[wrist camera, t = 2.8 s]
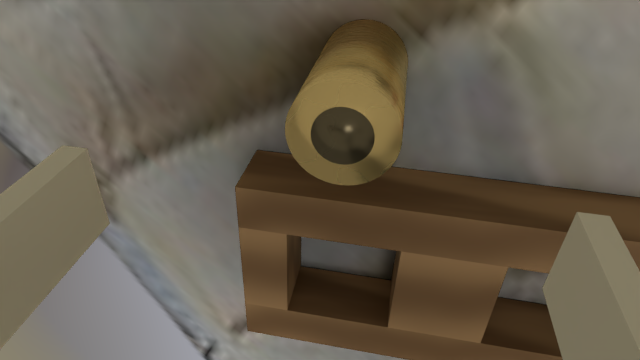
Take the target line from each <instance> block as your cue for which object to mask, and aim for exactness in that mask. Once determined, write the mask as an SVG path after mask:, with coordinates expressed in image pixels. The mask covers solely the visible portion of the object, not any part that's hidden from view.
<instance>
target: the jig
mask: <svg viewBox="0 0 640 360" xmlns="http://www.w3.org/2000/svg"><path fill="white" fill-rule="evenodd" d="M235 192H236V203H237V214H238V226H239V237H240V249H241V260H242V272H243V283H244V294H245V306H246V317H247V329H248V331H252V332H257V333H263V334H268V335H274V336H280V337H285V338H291V339H296V340H302V341H308V342H313V343H319V344H324V345H330V346H335V347H341V348H347V349H352V350H358V351H363V352H369V353H375V354H380V355H386V356H391V357H397V358H403V359H408V360H563V359H562V356H561V352H560V349H559V345H558V342H557V338H556V335H555V331H554V328H553V324H552V321H551V317H550V314H549V310H548V307H547V305H544V304H537V303H531V302H525V301H518V300H512V299H505V298H499V297H498V294H499V292H500V289H501V286H502V283H503V281H504V278H505V275H506V273H507V270H508V267H509V268H516V269H523V270H530V271H536V272H543V273H549V272H550V270H551V268H552V266H553V264H554V261H555V259H556V257H557V255H558V253H559V250H560V248H561V246H562V244H563V241H564V239H565V237H566V235H567V233H568V230H569V228H570V226H571V224H572V222H573V219H574V217H575V215H576V213H577V212H582V213H590V214H598V215H605V216H610V217H611V219H612V221H613V223H614V224H615V226H616V228H617V230H618V232H619V234H620V235H621V237H622V239H623V241H624V243H625V245H626V247H627V248H628V250H629V252H630V254H631V256H632V258H633V260H634V261H635V263H636V265H637V267H638V269H639V271H640V198H638V197H630V196H622V195H614V194H606V193H598V192H590V191H582V190H574V189H566V188H558V187H550V186H542V185H534V184H526V183H518V182H510V181H502V180H494V179H486V178H478V177H470V176H462V175H454V174H446V173H438V172H430V171H422V170H414V169H406V168H398V167H390V168H389V169H388V170H387V171H386V172H385V173H384V174H383V175H381V176H380V177H378V178H376V179H374V180H372V181H369V182H367V183H363V184H358V185H337V184H332V183H328V182H325V181H323V180H320V179H318V178H316V177H315V176H313V175H311V174H310V173H308V172H307V171H306V170H305V169H304V168H302V167H301V166H300V165H299V163H298V162H297V161H296V160H295V158H294V157H293V155H292V154H285V153H277V152H269V151H261V150H257V151H256V153H255V154H254V156H253V158H252V159H251V161H250V163H249V164H248V166H247V168H246V170H245V171H244V173H243V175H242V176H241V178H240V180H239V181H238V183H237V185H236V186H235ZM301 237H307V238H314V239H321V240H328V241H334V242H341V243H348V244H354V245H361V246H368V247H375V248H381V249H388V250H395V251H396V255H395V261H394V267H393V273H392V278H391V280H385V279H378V278H372V277H365V276H359V275H353V274H346V273H340V272H334V271H327V270H321V269H315V268H308V267H302V266H301Z"/></svg>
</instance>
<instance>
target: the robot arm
mask: <svg viewBox="0 0 640 360" xmlns="http://www.w3.org/2000/svg"><path fill="white" fill-rule="evenodd" d="M109 224H110V222H109V219H108V216H107V213H106V209H105V206H104V203H103V199H102V196H101V193H100V189H99V186H98V183H97V179H96V176H95V173H94V170H93V166H92V163H91V160H90V156H89V153H88V150H87V149H86V148H78V147H70V146H63V145H62V146H61V147H60V148H59V149H57V150H56V151H55V152H54V153H52V154H51V155H50V156H48V157H47V158H46V159H45V160H43V161H42V162H41V163H40V164H38V165H37V166H36V167H34V168H33V169H32V170H31V171H29V172H28V173H27V174H26V175H24V176H23V177H22V178H20V179H19V180H18V181H17V182H15V183H14V184H13V185H11V186H10V187H9V188H8V189H6V190H5V191H4V192H3V193H1V194H0V349H1V348H2V347H3V346H4V345H5V343H6V342H7V341H8V340H9V339H10V338H11V336H12V335H13V334H14V333H15V332H16V331H17V330H18V329H19V327H20V326H21V325H22V324H23V323H24V322H25V320H26V319H27V318H28V317H29V316H30V315H31V314H32V312H33V311H34V310H35V309H36V308H37V307H38V305H39V304H40V303H41V302H42V301H43V300H44V299H45V297H46V296H47V295H48V294H49V293H50V292H51V290H52V289H53V288H54V287H55V286H56V285H57V284H58V282H59V281H60V280H61V279H62V278H63V276H64V275H65V274H66V273H67V272H68V271H69V270H70V268H71V267H72V266H73V265H74V264H75V263H76V262H77V260H78V259H79V258H80V257H81V256H82V255H83V253H84V252H85V251H86V250H87V249H88V248H89V247H90V245H91V244H92V243H93V242H94V241H95V240H96V239H97V237H98V236H99V235H100V234H101V233H102V232H103V230H104V229H105V228H106V227H107V226H108V225H109ZM542 289H543V293H544V296H545V300H546V303H547V307H548V310H549V314H550V317H551V321H552V324H553V328H554V331H555V335H556V338H557V342H558V345H559V349H560V352H561V356H562V359H563V360H640V271H639V269H638V267H637V265H636V263H635V261H634V260H633V258H632V256H631V254H630V252H629V250H628V248H627V247H626V245H625V243H624V241H623V239H622V237H621V235H620V234H619V232H618V230H617V228H616V226H615V224H614V223H613V221H612V219H611V217H610V216H605V215H598V214H590V213H582V212H577V213H576V215H575V217H574V219H573V222H572V224H571V226H570V228H569V230H568V233H567V235H566V237H565V239H564V241H563V244H562V246H561V248H560V250H559V253H558V255H557V257H556V259H555V261H554V264H553V266H552V268H551V270H550V272H549V275H548V277H547V279H546V281H545V284H544V286H543V288H542Z"/></svg>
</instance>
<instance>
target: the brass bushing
mask: <svg viewBox="0 0 640 360" xmlns="http://www.w3.org/2000/svg"><path fill="white" fill-rule="evenodd" d="M407 68H408V56H407V51H406V48H405V45H404V43H403V41H402V40H401V38H400V37H399V35H398V34H397V33H396V32H395V31H394V30H393V29H391V28H390V27H389V26H387V25H385V24H383V23H381V22H378V21H375V20H366V19H362V20H355V21H351V22H349V23H346V24H344V25H343V26H341V27H340V28H338V29H337V30H336V31H335V32H334V33H333V34H332V35H331V37H330V38H329V39H328V41H327V43H326V45H325V47H324V48H323V50H322V52H321V54H320V56H319V57H318V59H317V61H316V63H315V64H314V66H313V68H312V70H311V72H310V73H309V75H308V77H307V79H306V81H305V82H304V84H303V86H302V88H301V90H300V91H299V93H298V95H297V97H296V99H295V100H294V102H293V104H292V106H291V108H290V109H289V112H288V114H287V118H286V122H285V136H286V141H287V144H288V147H289V150H290V152H291V153H292V155H293V157H294V158H295V160H296V161H297V162H298V163H299V165H300V166H301V167H302V168H304V169H305V170H306V171H307V172H308V173H310V174H311V175H313V176H315V177H316V178H318V179H320V180H323V181H325V182H328V183H332V184H337V185H358V184H363V183H367V182H369V181H372V180H374V179H376V178H378V177H380V176H381V175H383V174H384V173H385V172H386V171H387V170H388V169H389V168H390V167H391V166H392V165H393V164H394V162H395V161H396V159H397V157H398V155H399V152H400V149H401V145H402V135H403V122H404V108H405V95H406V81H407Z"/></svg>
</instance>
